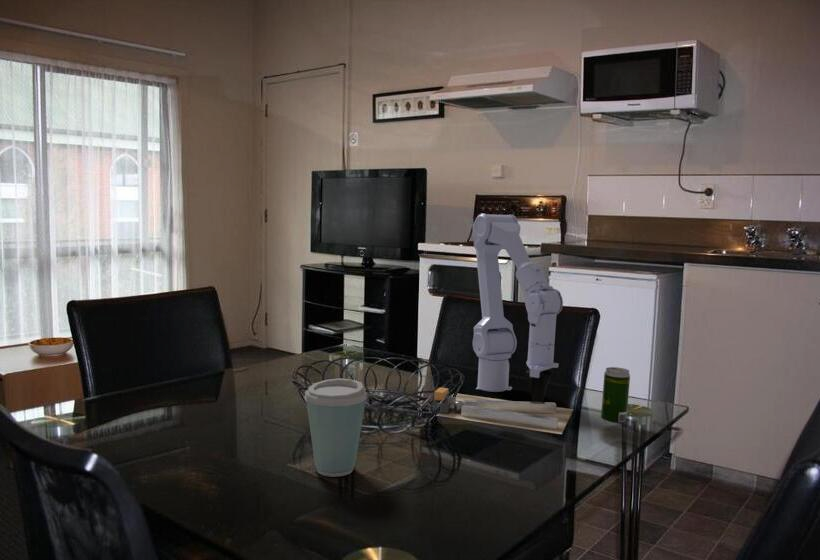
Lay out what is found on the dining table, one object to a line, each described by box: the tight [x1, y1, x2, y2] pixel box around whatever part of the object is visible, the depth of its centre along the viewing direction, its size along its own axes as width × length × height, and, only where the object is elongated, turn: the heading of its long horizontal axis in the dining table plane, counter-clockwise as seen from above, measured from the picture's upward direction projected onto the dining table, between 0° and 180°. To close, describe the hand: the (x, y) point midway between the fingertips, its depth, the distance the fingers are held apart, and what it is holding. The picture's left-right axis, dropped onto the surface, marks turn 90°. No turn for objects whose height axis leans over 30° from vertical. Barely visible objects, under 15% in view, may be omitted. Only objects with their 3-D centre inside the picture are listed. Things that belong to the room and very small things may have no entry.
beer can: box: [600, 366, 631, 423], centre depth 155 cm, size 5×5×12 cm
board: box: [436, 393, 574, 435], centre depth 157 cm, size 19×28×1 cm
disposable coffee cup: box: [304, 378, 368, 478], centre depth 121 cm, size 11×11×15 cm
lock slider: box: [433, 387, 449, 401], centre depth 156 cm, size 4×2×2 cm, turn 160°
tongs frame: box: [432, 395, 559, 430], centre depth 152 cm, size 6×27×2 cm, turn 70°
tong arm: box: [454, 400, 557, 413], centre depth 156 cm, size 3×22×2 cm, turn 92°
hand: (537, 402), depth 161 cm, fingers closed
